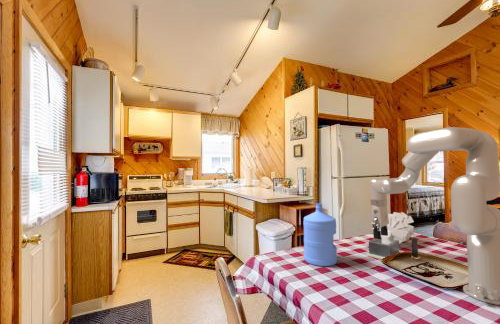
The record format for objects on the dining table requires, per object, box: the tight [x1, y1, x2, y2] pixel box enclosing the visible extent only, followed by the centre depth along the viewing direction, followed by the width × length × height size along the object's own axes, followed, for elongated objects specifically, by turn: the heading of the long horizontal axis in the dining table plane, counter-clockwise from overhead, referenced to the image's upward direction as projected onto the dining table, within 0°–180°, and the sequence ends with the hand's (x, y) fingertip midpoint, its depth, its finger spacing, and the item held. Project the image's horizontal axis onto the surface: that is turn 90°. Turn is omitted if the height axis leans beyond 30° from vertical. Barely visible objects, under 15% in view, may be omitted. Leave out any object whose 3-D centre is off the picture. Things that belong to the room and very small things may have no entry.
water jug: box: [303, 202, 338, 267], centre depth 118 cm, size 16×16×28 cm
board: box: [366, 251, 401, 260], centre depth 125 cm, size 16×11×1 cm
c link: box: [368, 237, 400, 257], centre depth 126 cm, size 14×10×6 cm
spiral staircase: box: [380, 211, 415, 245], centre depth 144 cm, size 18×18×25 cm
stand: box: [410, 236, 421, 259], centre depth 120 cm, size 4×4×10 cm
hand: (381, 237), depth 121 cm, fingers open, 9 cm apart
